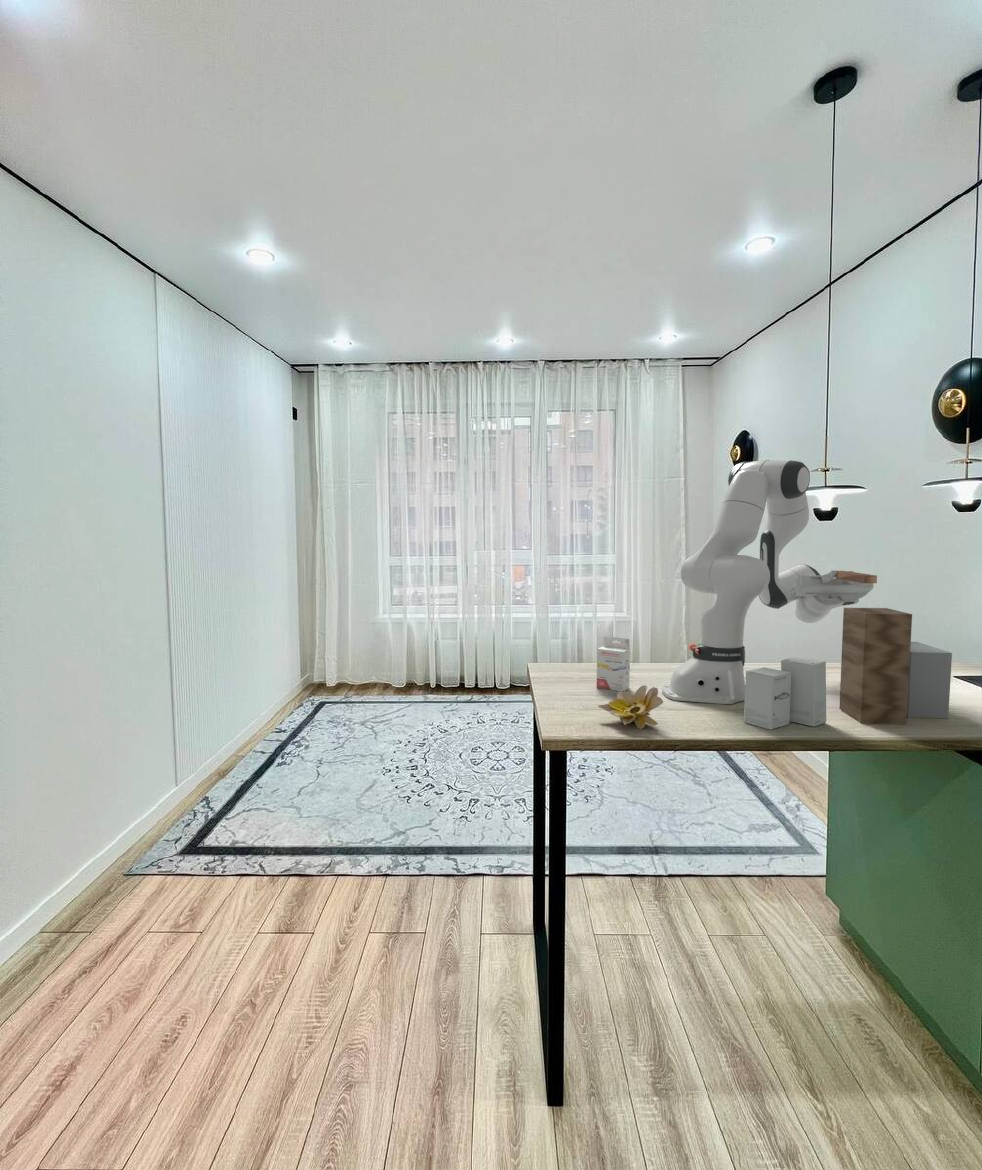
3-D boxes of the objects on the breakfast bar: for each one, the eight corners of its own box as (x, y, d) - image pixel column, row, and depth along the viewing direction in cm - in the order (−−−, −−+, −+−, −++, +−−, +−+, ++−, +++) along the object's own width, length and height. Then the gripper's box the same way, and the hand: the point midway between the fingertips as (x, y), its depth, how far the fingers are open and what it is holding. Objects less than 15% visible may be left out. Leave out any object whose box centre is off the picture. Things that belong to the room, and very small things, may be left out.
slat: (864, 583, 158) (864, 575, 158) (831, 577, 178) (831, 570, 178) (876, 583, 158) (877, 575, 157) (842, 577, 177) (842, 570, 177)
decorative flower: (589, 708, 154) (599, 669, 153) (628, 715, 157) (639, 677, 156) (617, 731, 140) (628, 688, 139) (660, 737, 143) (671, 696, 142)
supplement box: (771, 730, 142) (773, 676, 141) (742, 722, 148) (744, 670, 147) (790, 725, 146) (792, 672, 145) (762, 717, 152) (763, 666, 151)
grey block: (908, 717, 151) (911, 652, 150) (877, 700, 167) (880, 641, 165) (948, 718, 150) (952, 652, 149) (913, 701, 166) (916, 641, 164)
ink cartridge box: (595, 688, 181) (596, 638, 180) (602, 684, 186) (602, 635, 184) (623, 692, 177) (624, 640, 176) (630, 688, 181) (630, 638, 180)
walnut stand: (860, 723, 147) (865, 613, 145) (839, 708, 159) (843, 607, 157) (906, 724, 145) (912, 614, 143) (881, 710, 157) (886, 608, 155)
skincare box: (826, 723, 147) (829, 661, 145) (812, 728, 143) (815, 664, 142) (792, 715, 154) (794, 655, 152) (778, 719, 150) (780, 658, 149)
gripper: (786, 584, 189) (802, 563, 176) (858, 584, 186) (879, 563, 174) (789, 603, 186) (805, 583, 174) (862, 603, 183) (884, 583, 171)
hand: (843, 573), depth 174 cm, fingers closed on slat, 3 cm apart
